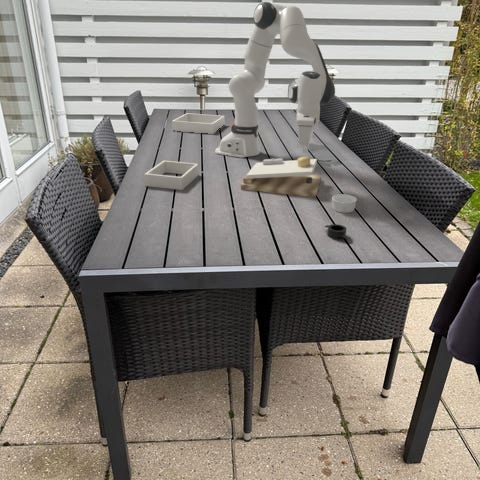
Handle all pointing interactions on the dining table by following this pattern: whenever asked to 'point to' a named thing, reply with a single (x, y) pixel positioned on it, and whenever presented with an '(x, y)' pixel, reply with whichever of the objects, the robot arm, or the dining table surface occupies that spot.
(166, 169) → the frame
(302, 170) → the plate
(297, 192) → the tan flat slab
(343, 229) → the duct tape
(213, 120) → the white square tray
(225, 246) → the dining table surface
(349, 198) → the ramekin
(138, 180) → the dining table surface
